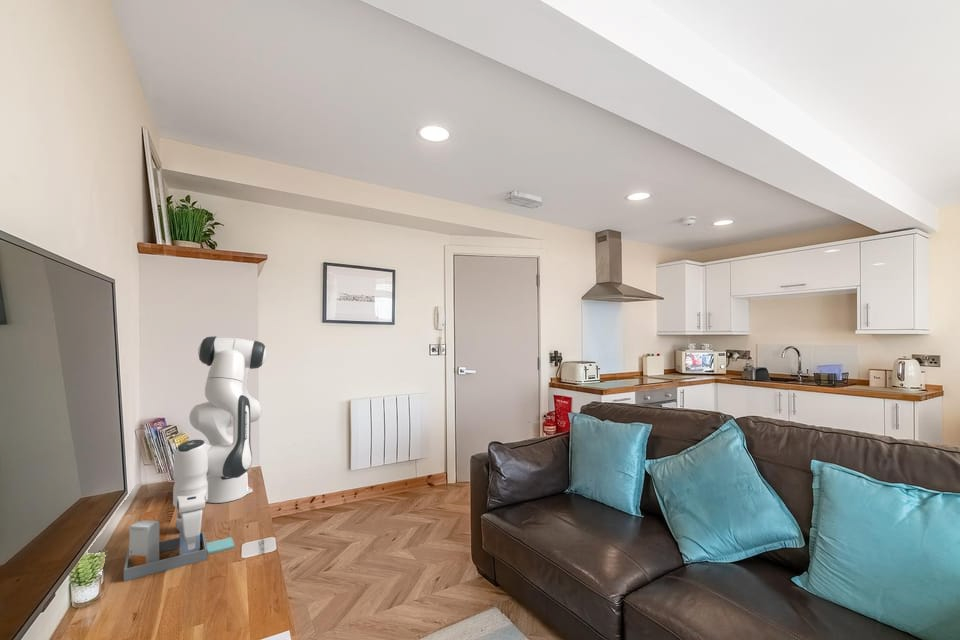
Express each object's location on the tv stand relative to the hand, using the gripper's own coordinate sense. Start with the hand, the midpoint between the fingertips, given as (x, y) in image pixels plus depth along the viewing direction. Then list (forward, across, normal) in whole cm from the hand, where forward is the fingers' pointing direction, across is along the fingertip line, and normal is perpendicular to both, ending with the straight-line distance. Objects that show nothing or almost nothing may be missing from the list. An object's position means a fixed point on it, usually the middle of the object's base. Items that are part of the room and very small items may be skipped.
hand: (190, 542), depth 134 cm
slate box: (+4, 0, 0) cm, 4 cm away
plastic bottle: (+4, -20, 0) cm, 21 cm away
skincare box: (+4, 0, -11) cm, 12 cm away
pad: (+4, 0, +8) cm, 9 cm away
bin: (+4, 0, -6) cm, 7 cm away
